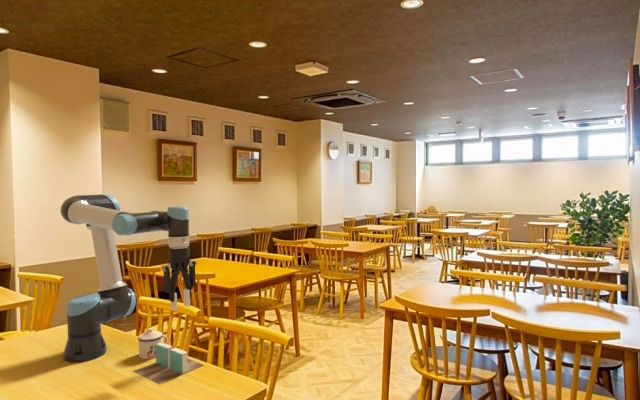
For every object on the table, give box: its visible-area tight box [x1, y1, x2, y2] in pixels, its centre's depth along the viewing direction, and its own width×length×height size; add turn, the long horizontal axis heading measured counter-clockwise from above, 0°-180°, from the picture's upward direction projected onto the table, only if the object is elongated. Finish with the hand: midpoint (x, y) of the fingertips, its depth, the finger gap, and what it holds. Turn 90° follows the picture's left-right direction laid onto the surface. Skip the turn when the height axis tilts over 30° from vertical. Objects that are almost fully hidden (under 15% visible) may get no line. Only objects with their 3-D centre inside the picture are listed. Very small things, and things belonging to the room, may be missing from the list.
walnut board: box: [133, 358, 205, 385], centre depth 152 cm, size 17×18×2 cm
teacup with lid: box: [137, 327, 168, 360], centre depth 166 cm, size 12×9×12 cm
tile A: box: [155, 342, 174, 367], centre depth 156 cm, size 7×2×7 cm, turn 53°
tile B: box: [170, 347, 189, 375], centre depth 150 cm, size 7×2×7 cm, turn 53°
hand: (180, 307), depth 161 cm, fingers open, 5 cm apart
